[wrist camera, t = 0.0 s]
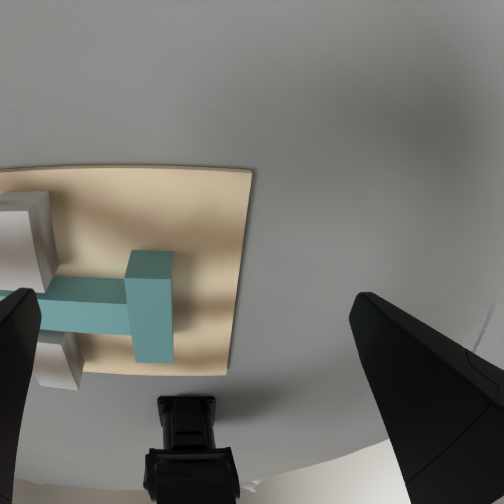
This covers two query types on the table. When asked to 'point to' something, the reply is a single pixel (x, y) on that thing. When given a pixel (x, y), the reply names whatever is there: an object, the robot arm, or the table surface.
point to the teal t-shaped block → (117, 305)
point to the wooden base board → (127, 255)
